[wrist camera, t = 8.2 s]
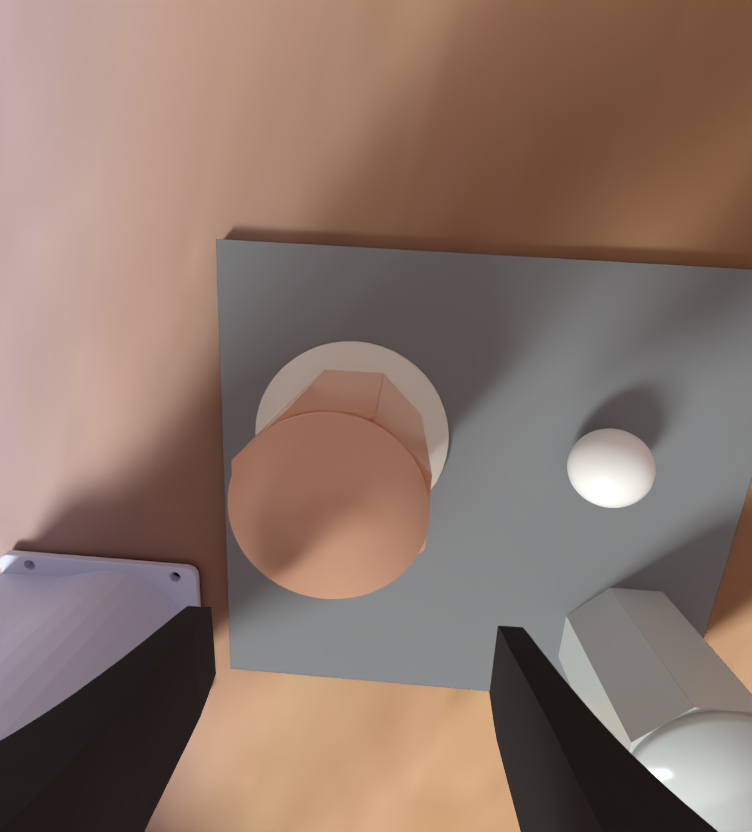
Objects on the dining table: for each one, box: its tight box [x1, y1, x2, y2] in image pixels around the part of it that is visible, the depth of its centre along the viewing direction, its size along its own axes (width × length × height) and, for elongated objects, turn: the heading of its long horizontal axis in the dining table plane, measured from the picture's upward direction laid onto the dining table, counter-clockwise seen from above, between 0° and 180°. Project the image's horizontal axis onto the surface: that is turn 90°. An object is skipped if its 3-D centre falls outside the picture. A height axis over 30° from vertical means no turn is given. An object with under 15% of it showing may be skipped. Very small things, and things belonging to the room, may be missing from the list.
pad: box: [255, 341, 449, 489], centre depth 19 cm, size 8×8×1 cm
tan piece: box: [227, 370, 432, 599], centre depth 16 cm, size 6×6×6 cm
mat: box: [216, 239, 752, 691], centre depth 20 cm, size 22×20×1 cm
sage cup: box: [558, 588, 752, 832], centre depth 18 cm, size 6×6×6 cm
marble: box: [567, 428, 656, 508], centre depth 17 cm, size 3×3×3 cm
